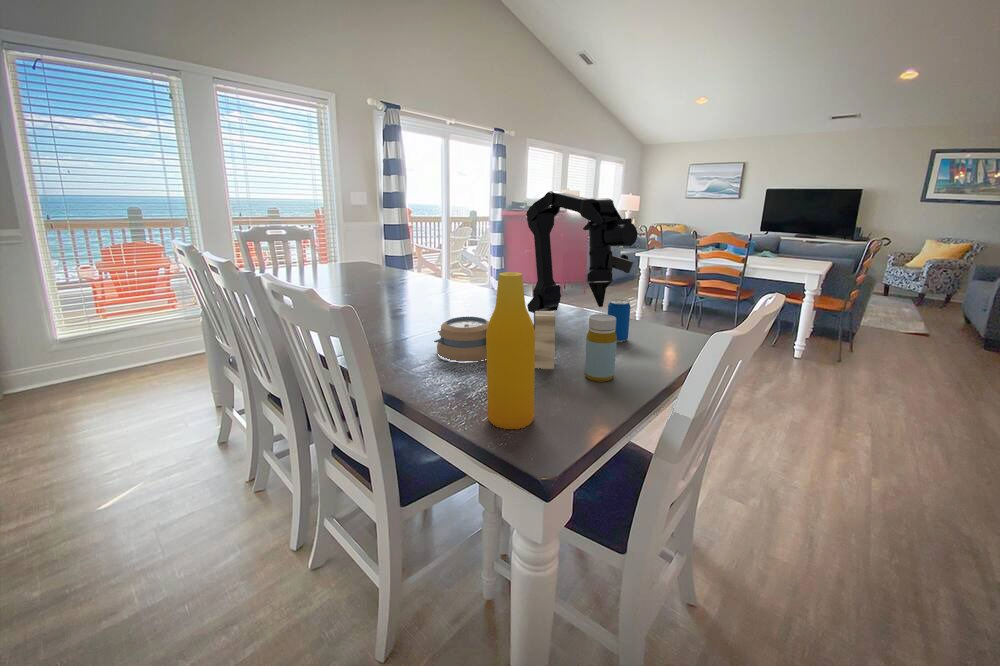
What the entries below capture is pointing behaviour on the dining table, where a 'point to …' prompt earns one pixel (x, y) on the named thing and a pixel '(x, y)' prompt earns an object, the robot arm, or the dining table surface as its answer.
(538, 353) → the block
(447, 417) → the dining table surface
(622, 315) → the beverage can
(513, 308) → the beer bottle
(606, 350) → the bottle
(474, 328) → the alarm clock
